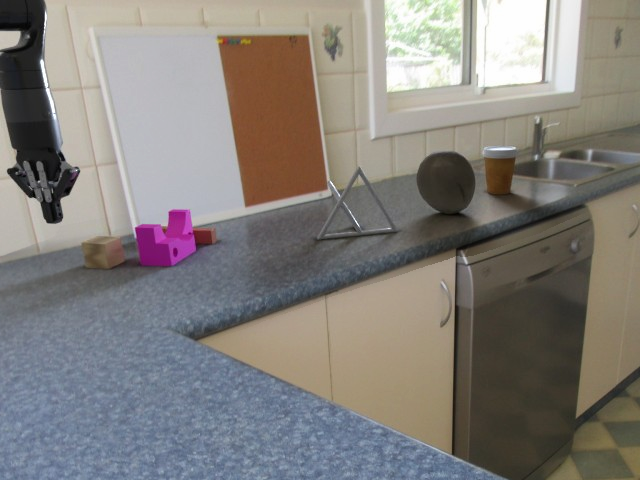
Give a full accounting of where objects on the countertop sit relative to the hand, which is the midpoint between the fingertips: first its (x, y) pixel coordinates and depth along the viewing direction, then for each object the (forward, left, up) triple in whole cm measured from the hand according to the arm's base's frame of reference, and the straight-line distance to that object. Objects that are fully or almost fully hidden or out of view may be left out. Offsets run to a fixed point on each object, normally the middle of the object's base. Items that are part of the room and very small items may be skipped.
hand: (54, 222), depth 113 cm
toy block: (+10, +19, -11) cm, 24 cm away
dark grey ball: (+56, +63, -11) cm, 85 cm away
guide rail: (+5, +28, -11) cm, 31 cm away
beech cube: (0, +11, -11) cm, 15 cm away
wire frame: (+39, +43, -11) cm, 59 cm away
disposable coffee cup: (+66, +90, -11) cm, 112 cm away
